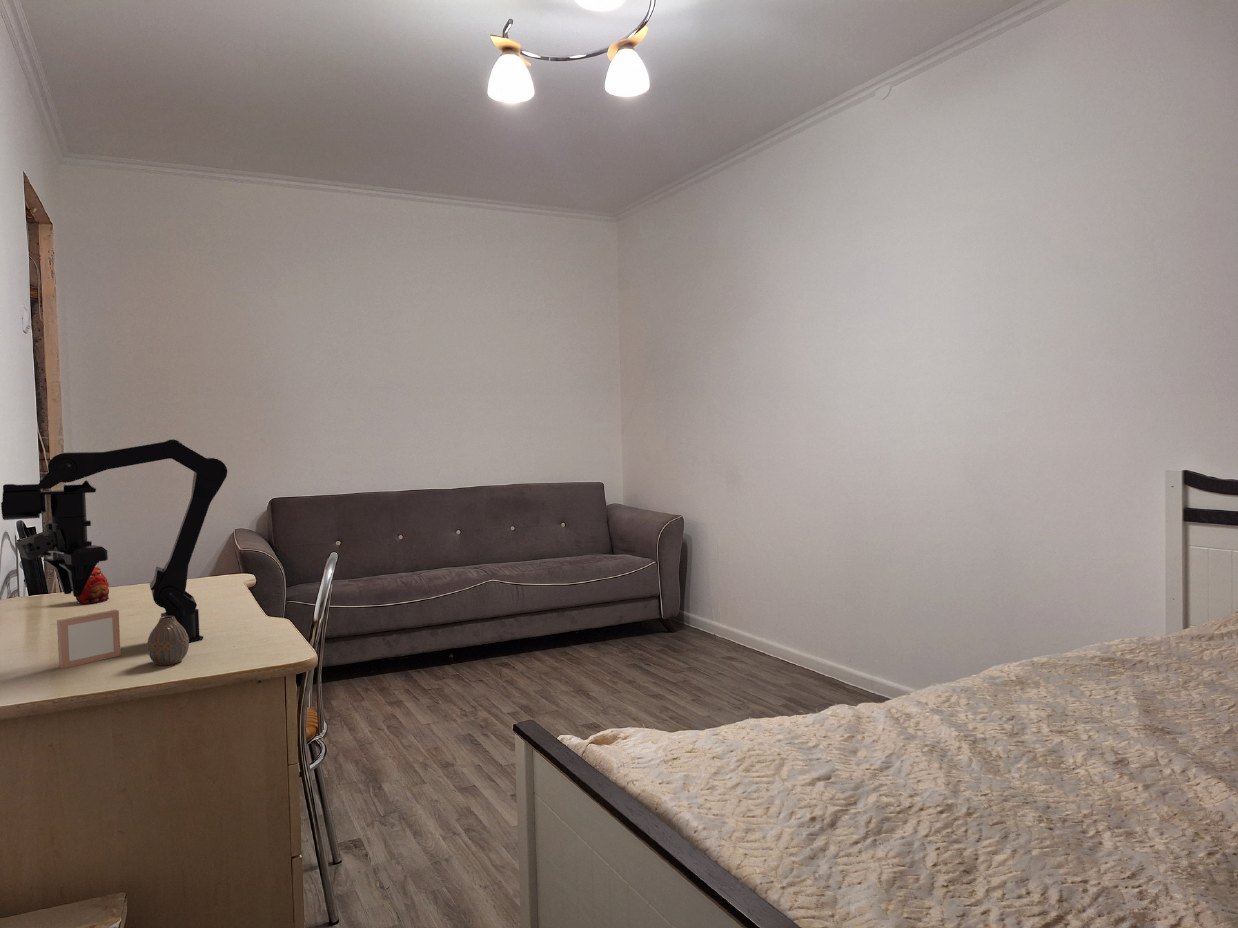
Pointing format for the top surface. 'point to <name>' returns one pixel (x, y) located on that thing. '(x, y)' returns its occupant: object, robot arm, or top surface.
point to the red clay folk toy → (95, 588)
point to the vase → (168, 642)
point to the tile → (88, 638)
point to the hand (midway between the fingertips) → (72, 595)
